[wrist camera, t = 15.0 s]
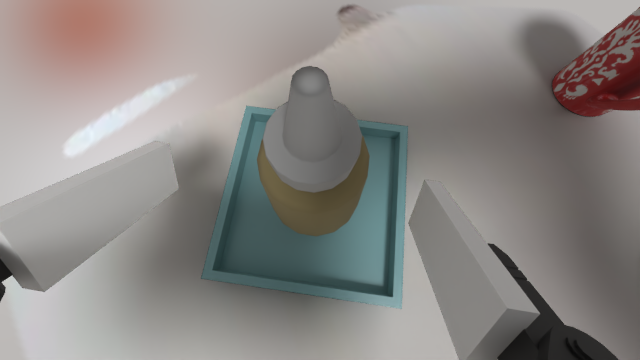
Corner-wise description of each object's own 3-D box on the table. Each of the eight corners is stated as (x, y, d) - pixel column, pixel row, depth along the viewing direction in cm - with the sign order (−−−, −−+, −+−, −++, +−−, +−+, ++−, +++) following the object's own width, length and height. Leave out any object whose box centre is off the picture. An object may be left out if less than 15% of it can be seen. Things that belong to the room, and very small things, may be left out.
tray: (400, 136, 27) (407, 126, 25) (392, 302, 22) (401, 308, 20) (252, 118, 28) (246, 105, 26) (213, 275, 23) (200, 278, 21)
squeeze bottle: (368, 197, 24) (491, 77, 7) (317, 255, 23) (316, 281, 5) (313, 149, 26) (306, -45, 9) (261, 200, 24) (122, 86, 7)
